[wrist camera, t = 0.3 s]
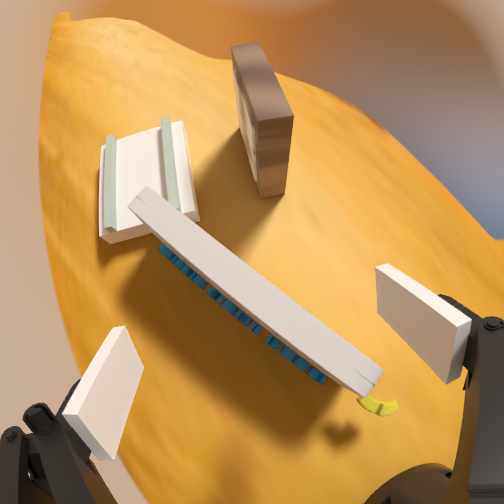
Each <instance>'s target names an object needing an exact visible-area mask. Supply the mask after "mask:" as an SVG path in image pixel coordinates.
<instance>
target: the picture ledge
mask: <svg viewBox="0 0 504 504" xmlns="http://www.w3.org/2000/svg"><path fill="white" fill-rule="evenodd" d="M145 186H148V187H150V188H151V189H152V190H154V191H155V192H156V193H158V194H159V195H160V196H161V197H163V198H164V199H165V200H166V201H168V202H169V203H170V204H171V205H173V206H174V207H175V208H176V209H178V210H179V211H180V212H181V213H183V214H184V215H185V216H186V217H188V218H189V219H190V220H192V221H193V222H198V221H200V216H199V210H198V204H197V198H196V192H195V186H194V180H193V174H192V167H191V161H190V154H189V147H188V140H187V134H186V131H185V128H184V125H183V122H182V120H181V121H177V122H173V123H171V122H170V119H169V116H166V117H163V118H161V126H159V127H156V128H152V129H149V130H146V131H143V132H140V133H136V134H133V135H130V136H127V137H124V138H122V139H119V140H117V139H116V138H115V136H114V135H113V134H111V135H108V136H106V144H105V145H102V146H101V160H100V180H99V236H100V237H101V238H102V239H104V240H105V241H107V242H108V243H109V244H114V243H117V242H121V241H125V240H128V239H132V238H136V237H139V236H143V235H147V234H151V233H152V232H151V231H150V230H149V229H148V228H147V227H146V226H145V225H144V224H143V223H142V222H141V221H140V219H139V218H138V217H137V216H136V215H135V214H134V213H133V212H132V211H131V210H130V209H129V208H128V207H127V206H128V205H129V204H130V203H131V201H132V200H133V199H134V198H135V197H136V196H137V195H138V194H139V193H140V192H141V191H142V190H143V189H144V188H145Z"/></svg>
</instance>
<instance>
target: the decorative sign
mask: <svg viewBox="0 0 504 504" xmlns="http://www.w3.org/2000/svg"><path fill="white" fill-rule="evenodd" d="M127 207H128V208H129V209H130V210H131V211H132V212H133V213H134V214H135V215H136V216H137V217H138V218H139V219H140V221H141V222H142V223H143V224H144V225H145V226H146V227H147V228H148V229H149V230H150V231H151V232H152V233H153V234H154V235H155V236H156V237H157V238H158V239H159V240H160V241H161V242H162V243H163V244H162V245H161V246H160V247H159V249H158V251H160V252H161V253H162V254H163V255H164V256H165V257H166V258H167V259H168V260H169V261H171V262H172V263H173V264H174V265H175V266H176V267H177V268H178V269H179V270H181V271H182V272H183V273H184V274H185V275H186V276H187V277H188V278H190V279H191V280H192V281H193V282H194V283H195V284H196V285H198V286H199V287H200V288H201V289H202V290H204V288H205V287H206V286H207V285H208V283H207V282H206V281H208V282H209V283H210V284H211V285H212V286H211V287H210V289H209V290H208V291H207V292H206V293H207V294H208V295H209V296H210V297H212V298H213V299H214V300H215V301H216V302H217V303H220V301H221V300H222V299H223V298H224V297H225V296H226V297H227V298H228V299H229V300H230V301H229V300H228V299H227V298H226V299H225V300H224V301H223V302H222V303H221V306H222V307H223V308H225V309H226V310H227V311H228V312H229V313H230V314H232V315H233V316H234V314H235V313H236V312H237V311H238V310H239V308H240V309H241V310H243V311H244V312H245V313H246V314H248V315H249V316H250V317H251V318H253V319H254V320H255V321H256V322H258V323H259V324H260V325H261V326H263V327H264V328H265V329H266V330H268V331H269V332H270V333H272V334H273V335H274V336H275V337H277V338H278V339H279V340H280V341H282V342H283V343H284V344H286V345H287V346H288V347H290V348H291V349H292V350H293V351H295V352H296V353H297V354H299V355H300V356H301V357H303V358H304V359H305V360H307V361H308V362H309V363H311V364H312V365H313V366H315V367H316V368H317V369H319V370H320V371H321V372H323V373H324V374H326V375H327V376H328V377H330V378H331V379H332V380H334V381H335V382H336V383H338V384H339V385H341V386H343V387H345V388H346V389H348V390H350V391H352V392H354V393H356V394H358V395H360V397H358V398H357V399H356V400H357V402H358V403H359V404H360V405H361V406H362V407H363V408H365V409H366V410H368V411H370V412H372V413H375V414H377V415H379V416H387V415H390V414H392V413H394V412H395V411H397V410H398V405H397V402H396V400H395V399H390V400H374V399H373V398H372V397H371V396H370V395H369V392H370V391H371V390H372V388H373V387H374V386H375V384H376V383H377V382H378V380H379V379H380V377H381V376H382V374H383V373H384V371H383V369H381V368H380V367H379V366H378V365H377V364H376V363H374V362H373V361H372V360H371V359H369V358H368V357H367V356H365V355H364V354H363V353H362V352H360V351H359V350H358V349H356V348H355V347H354V346H352V345H351V344H350V343H348V342H347V341H346V340H344V339H343V338H342V337H340V336H339V335H338V334H337V333H335V332H334V331H333V330H331V329H330V328H329V327H327V326H326V325H325V324H323V323H322V322H321V321H320V320H318V319H317V318H316V317H314V316H313V315H312V314H310V313H309V312H308V311H307V310H305V309H304V308H303V307H301V306H300V305H299V304H297V303H296V302H295V301H294V300H292V299H291V298H290V297H288V296H287V295H286V294H285V293H283V292H282V291H281V290H279V289H278V288H277V287H275V286H274V285H273V284H272V283H270V282H269V281H268V280H266V279H265V278H264V277H263V276H261V275H260V274H259V273H258V272H256V271H255V270H254V269H252V268H251V267H250V266H249V265H247V264H246V263H245V262H243V261H242V260H241V259H240V258H238V257H237V256H236V255H235V254H233V253H232V252H231V251H229V250H228V249H227V248H226V247H224V246H223V245H222V244H221V243H219V242H218V241H217V240H215V239H214V238H213V237H212V236H210V235H209V234H208V233H207V232H205V231H204V230H203V229H202V228H200V227H199V226H198V225H197V224H195V223H194V222H193V221H192V220H190V219H189V218H188V217H186V216H185V215H184V214H183V213H181V212H180V211H179V210H178V209H176V208H175V207H174V206H173V205H171V204H170V203H169V202H168V201H166V200H165V199H164V198H163V197H161V196H160V195H159V194H158V193H156V192H155V191H154V190H152V189H151V188H150V187H148V186H145V188H144V189H143V190H142V191H141V192H140V193H139V194H138V195H137V196H136V197H135V198H134V199H133V200H132V201H131V203H130V204H129V205H128V206H127ZM172 251H173V252H174V253H175V254H176V255H175V254H174V253H173V252H172ZM180 258H181V259H182V260H183V261H182V260H181V259H180ZM187 264H188V265H187ZM190 267H191V268H192V269H193V270H195V271H196V272H197V273H198V274H197V273H196V272H195V271H193V270H192V269H191V268H190ZM201 276H202V277H203V278H204V279H205V280H206V281H205V280H204V279H203V278H202V277H201ZM214 287H215V288H216V289H217V290H218V291H219V292H221V293H222V294H223V295H224V296H223V295H222V294H220V293H219V292H218V291H217V290H216V289H215V288H214ZM231 301H232V302H233V303H234V304H235V305H236V306H238V307H239V308H238V307H236V306H235V305H234V304H233V303H232V302H231ZM241 310H239V312H238V313H237V314H236V315H235V316H234V317H235V318H237V319H238V320H239V321H240V322H241V323H243V324H244V325H245V326H246V327H247V326H248V325H249V324H250V323H251V322H252V319H251V318H250V317H248V316H247V315H246V314H244V313H243V311H241ZM256 322H254V324H253V325H252V326H251V327H250V328H249V329H250V330H251V331H252V332H254V333H255V334H256V335H258V333H259V332H260V331H261V330H262V329H263V328H262V327H261V326H260V325H259V324H257V323H256ZM272 334H271V335H270V336H269V337H268V339H267V340H266V341H265V342H266V343H267V344H269V345H270V346H271V347H272V348H274V349H275V350H276V351H277V350H278V349H279V347H280V346H281V345H282V343H281V342H280V341H279V340H278V339H276V338H275V337H274V336H273V335H272ZM288 347H286V346H285V345H284V346H283V347H282V349H281V350H280V351H279V353H280V354H281V355H283V356H284V357H285V358H287V359H288V360H289V361H291V362H292V361H293V360H294V359H295V360H294V361H293V362H292V363H293V364H294V365H296V366H297V367H298V368H300V369H301V370H302V371H304V372H305V371H306V370H307V369H308V367H309V366H310V364H309V363H307V362H306V361H305V360H303V359H302V358H301V357H299V356H297V354H295V353H294V352H293V351H292V350H290V349H289V348H288ZM296 356H297V357H296ZM317 369H315V368H314V367H312V366H311V368H310V369H309V370H308V371H307V373H306V374H308V375H309V376H310V377H312V378H313V379H314V380H316V381H317V382H318V383H320V384H321V385H322V384H323V383H324V381H325V380H326V379H327V378H328V377H326V376H325V375H323V374H322V373H321V372H319V371H318V370H317Z"/></svg>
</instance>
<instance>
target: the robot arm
mask: <svg viewBox="0 0 504 504" xmlns="http://www.w3.org/2000/svg"><path fill="white" fill-rule="evenodd" d="M375 272H376V289H377V313H378V314H379V315H380V316H381V317H382V318H383V319H384V320H385V321H386V322H387V323H388V324H389V325H390V326H391V327H392V328H393V329H394V330H395V331H396V332H397V333H398V335H399V336H400V337H401V338H402V339H403V340H404V341H405V342H406V343H407V344H408V345H409V346H410V347H411V348H412V349H413V350H414V351H415V352H416V353H417V354H418V355H419V356H420V357H421V358H422V360H423V361H424V362H425V363H426V364H427V365H428V366H429V367H430V368H431V369H432V370H433V371H434V372H435V373H436V374H437V376H438V377H439V378H440V379H441V380H442V381H443V382H444V383H445V384H448V383H450V382H452V381H454V380H455V379H457V378H459V377H460V375H461V371H462V367H463V366H464V367H465V368H466V369H467V370H468V373H467V377H466V380H465V384H464V387H463V390H465V389H466V390H465V401H464V411H463V419H462V426H461V432H460V438H459V444H458V449H457V454H456V459H455V464H454V468H453V470H451V469H450V468H448V467H446V466H444V465H442V464H436V463H430V464H423V465H419V466H416V467H413V468H410V469H408V470H406V471H404V472H402V473H400V474H398V475H397V476H395V477H393V478H392V479H390V480H389V481H388V482H386V483H385V484H384V485H383V486H381V487H380V488H379V489H378V490H377V491H376V492H375V493H374V494H373V495H372V496H371V497H370V498H369V499H368V501H367V502H366V503H365V504H504V320H502V319H501V318H498V317H493V316H490V317H485V318H483V319H482V318H481V317H480V316H478V315H477V314H475V313H474V312H472V311H471V310H469V309H468V308H466V307H464V306H463V305H462V304H460V303H458V302H457V301H456V300H454V299H453V298H451V297H449V296H446V295H442V294H439V295H436V294H434V293H433V292H431V291H430V290H428V289H427V288H425V287H424V286H422V285H421V284H419V283H418V282H416V281H415V280H413V279H411V278H410V277H408V276H407V275H405V274H404V273H402V272H401V271H399V270H397V269H396V268H394V267H393V266H391V265H389V264H388V263H387V264H384V265H380V266H377V267H375ZM143 370H144V366H143V364H142V362H141V360H140V358H139V355H138V353H137V351H136V349H135V347H134V345H133V342H132V340H131V338H130V336H129V333H128V331H127V329H126V326H119V327H114V328H112V330H111V331H110V333H109V334H108V336H107V338H106V339H105V341H104V342H103V344H102V346H101V347H100V349H99V350H98V352H97V354H96V355H95V357H94V359H93V360H92V362H91V364H90V365H89V367H88V369H87V370H86V372H85V374H84V375H83V377H82V379H79V380H78V381H77V382H76V383H75V384H74V385H73V386H72V388H71V389H70V391H69V394H68V395H67V396H66V398H65V401H63V403H62V405H61V407H60V408H59V410H58V412H57V414H56V416H54V414H53V413H52V412H51V410H50V409H49V408H48V406H47V405H46V404H45V403H37V404H34V405H32V406H31V407H29V408H28V409H27V410H26V411H25V413H24V415H23V421H24V422H25V423H26V425H27V426H28V427H29V428H30V430H31V431H32V432H33V433H31V434H25V433H24V432H23V431H22V430H21V428H20V427H17V426H12V427H10V428H8V429H7V430H5V431H4V433H3V434H2V436H1V439H0V504H118V503H117V502H116V500H115V499H114V497H113V496H112V494H111V492H110V491H109V489H108V487H107V486H106V484H105V482H104V481H103V479H102V477H101V476H100V474H99V472H98V471H97V469H96V467H95V465H94V463H93V462H92V461H91V460H90V459H89V456H90V454H91V452H92V453H93V454H94V455H95V456H96V457H97V458H98V460H107V461H114V460H115V457H116V453H117V450H118V446H119V443H120V440H121V436H122V433H123V430H124V427H125V424H126V420H127V417H128V414H129V411H130V408H131V405H132V402H133V399H134V396H135V393H136V390H137V387H138V384H139V381H140V378H141V376H142V373H143ZM28 473H29V474H30V477H29V475H28Z"/></svg>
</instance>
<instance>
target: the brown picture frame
mask: <svg viewBox="0 0 504 504" xmlns="http://www.w3.org/2000/svg"><path fill="white" fill-rule="evenodd" d="M231 53H232V62H233V76H234V85H235V93H236V102H237V111H238V119H239V127H240V130H241V134H242V137H243V141H244V144H245V148H246V151H247V155H248V158H249V162H250V165H251V169H252V172H253V176H254V180H255V182H256V186H257V189H258V193H259V197H260V200H261V199H266V198H270V197H275V196H280V195H284V194H285V186H286V178H287V170H288V162H289V153H290V145H291V136H292V127H293V118H294V115H293V112H292V110H291V108H290V106H289V104H288V101H287V99H286V97H285V95H284V93H283V91H282V89H281V86H280V84H279V82H278V80H277V78H276V76H275V74H274V72H273V70H272V68H271V66H270V64H269V62H268V60H267V58H266V56H265V54H264V52H263V50H262V48H261V46H260V45H259V43H253V44H246V45H239V46H233V47H231Z"/></svg>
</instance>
